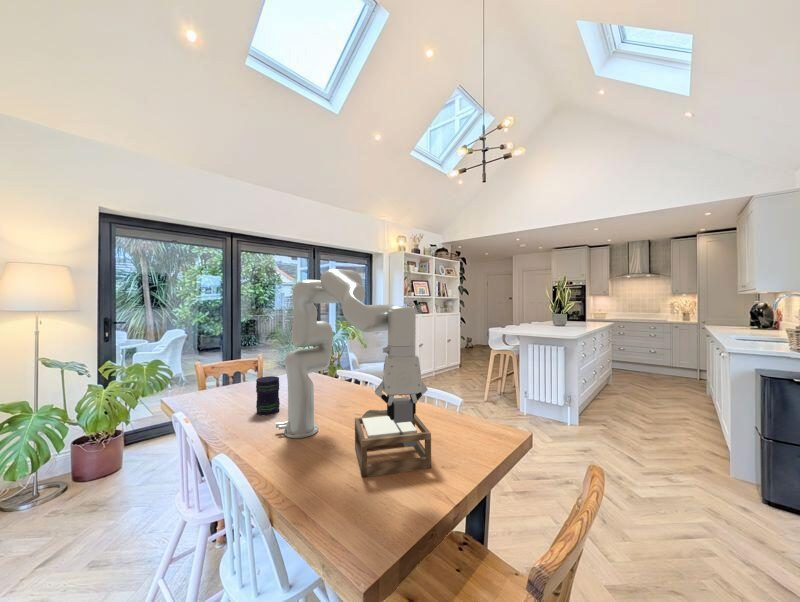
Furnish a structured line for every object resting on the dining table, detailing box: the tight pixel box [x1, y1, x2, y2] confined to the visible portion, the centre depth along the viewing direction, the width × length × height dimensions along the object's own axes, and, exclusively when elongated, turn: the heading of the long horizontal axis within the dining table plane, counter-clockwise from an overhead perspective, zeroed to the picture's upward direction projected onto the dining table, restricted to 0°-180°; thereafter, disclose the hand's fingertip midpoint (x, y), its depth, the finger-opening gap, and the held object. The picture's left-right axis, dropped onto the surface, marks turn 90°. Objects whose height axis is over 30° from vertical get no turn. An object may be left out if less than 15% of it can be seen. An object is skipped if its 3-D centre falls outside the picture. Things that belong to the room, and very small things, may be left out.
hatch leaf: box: [362, 416, 418, 448], centre depth 102 cm, size 15×15×5 cm
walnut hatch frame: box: [354, 414, 432, 479], centre depth 103 cm, size 21×18×10 cm
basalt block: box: [392, 396, 413, 423], centre depth 88 cm, size 5×5×5 cm
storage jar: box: [255, 375, 281, 416], centre depth 146 cm, size 10×10×15 cm
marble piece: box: [361, 409, 387, 417], centre depth 131 cm, size 17×15×4 cm
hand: (401, 416), depth 88 cm, fingers closed on basalt block, 5 cm apart
